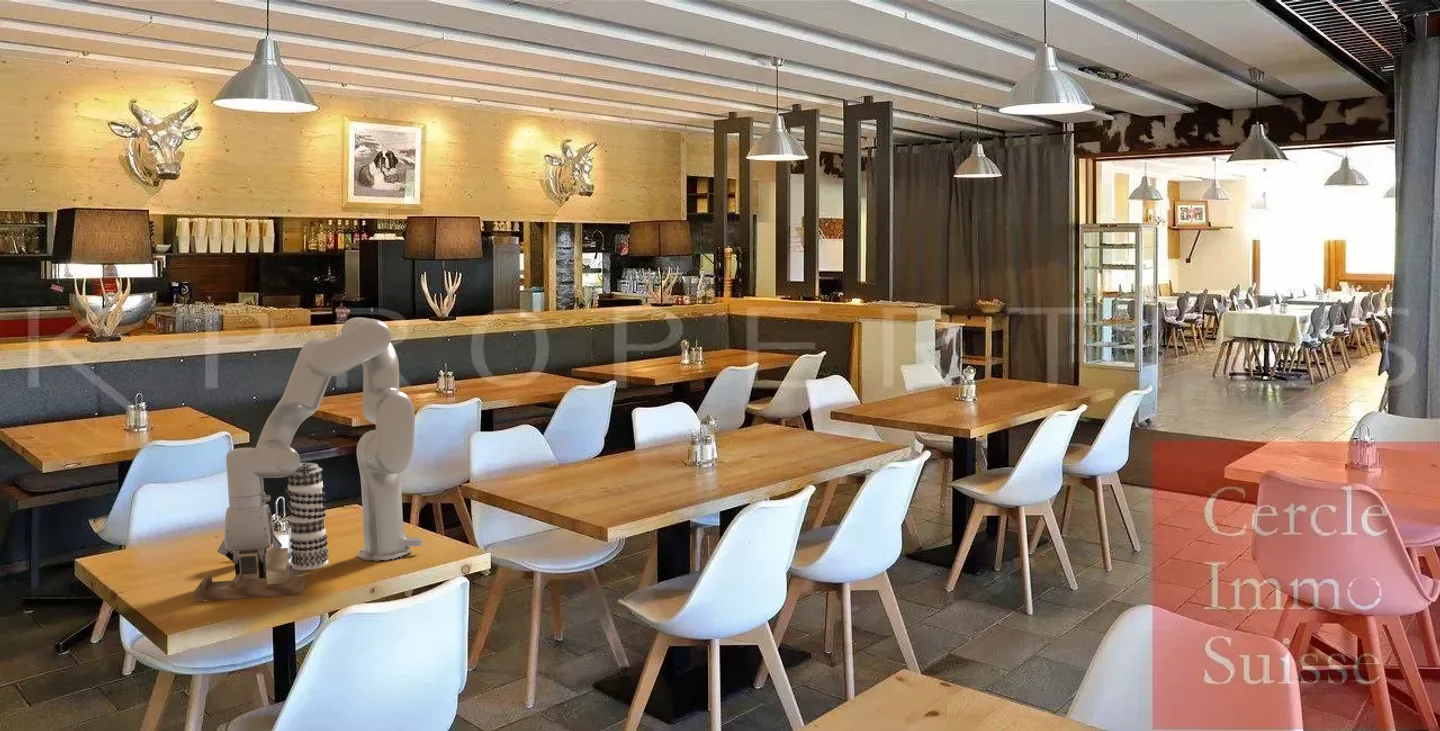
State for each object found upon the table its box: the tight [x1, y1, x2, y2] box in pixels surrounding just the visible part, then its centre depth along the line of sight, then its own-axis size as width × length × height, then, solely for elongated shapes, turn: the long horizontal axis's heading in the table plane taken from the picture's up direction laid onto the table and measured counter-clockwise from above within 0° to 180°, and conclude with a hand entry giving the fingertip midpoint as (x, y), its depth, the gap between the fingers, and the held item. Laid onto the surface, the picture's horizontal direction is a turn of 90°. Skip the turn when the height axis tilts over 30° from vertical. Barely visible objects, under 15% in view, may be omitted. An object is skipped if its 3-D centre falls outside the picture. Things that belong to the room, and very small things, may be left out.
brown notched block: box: [193, 547, 306, 602], centre depth 238 cm, size 22×6×10 cm, turn 101°
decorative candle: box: [284, 462, 329, 571], centre depth 258 cm, size 9×9×25 cm
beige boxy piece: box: [239, 550, 260, 580], centre depth 247 cm, size 5×4×7 cm
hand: (251, 577), depth 248 cm, fingers closed on beige boxy piece, 4 cm apart
